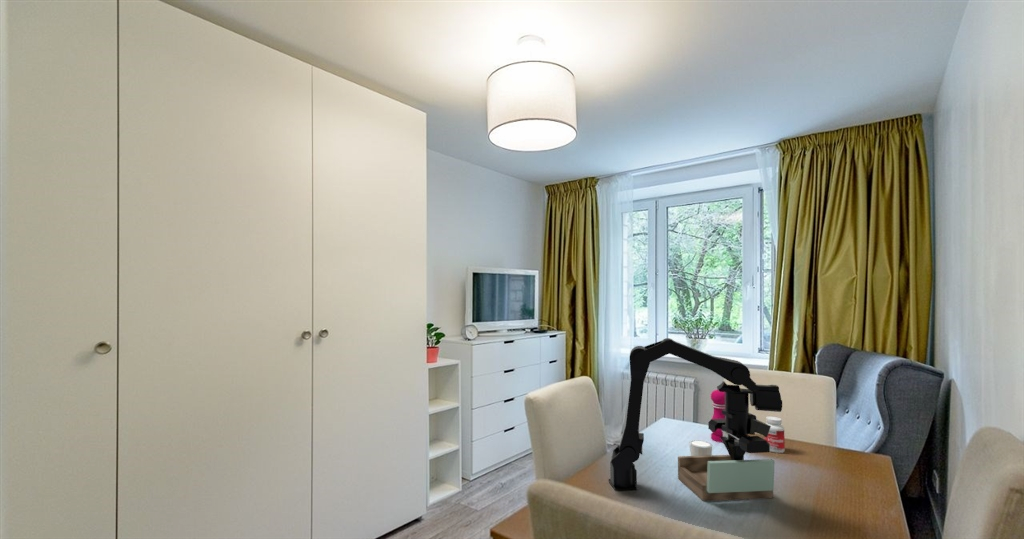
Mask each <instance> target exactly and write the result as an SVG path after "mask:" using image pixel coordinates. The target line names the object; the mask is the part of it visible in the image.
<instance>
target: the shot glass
mask: <svg viewBox="0 0 1024 539" xmlns="http://www.w3.org/2000/svg"><path fill="white" fill-rule="evenodd" d="M689 451H690V452H689V453H690V454H689V455H690V456H709V455H713V453H712V452H713V444H712V443H710V442H708V441H705V440H698V439H697V440H695V439H694V440H690V441H689Z"/></svg>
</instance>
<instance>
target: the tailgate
mask: <svg viewBox="0 0 1024 539" xmlns="http://www.w3.org/2000/svg"><path fill="white" fill-rule="evenodd" d="M775 466H776V463H775V460H774V459H773V458H761V459H757V458H756V459H744V460H728V461H708V465H707V492H708V493H725V492H749V491H773V492H774V489H775V488H774V484H775Z"/></svg>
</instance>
